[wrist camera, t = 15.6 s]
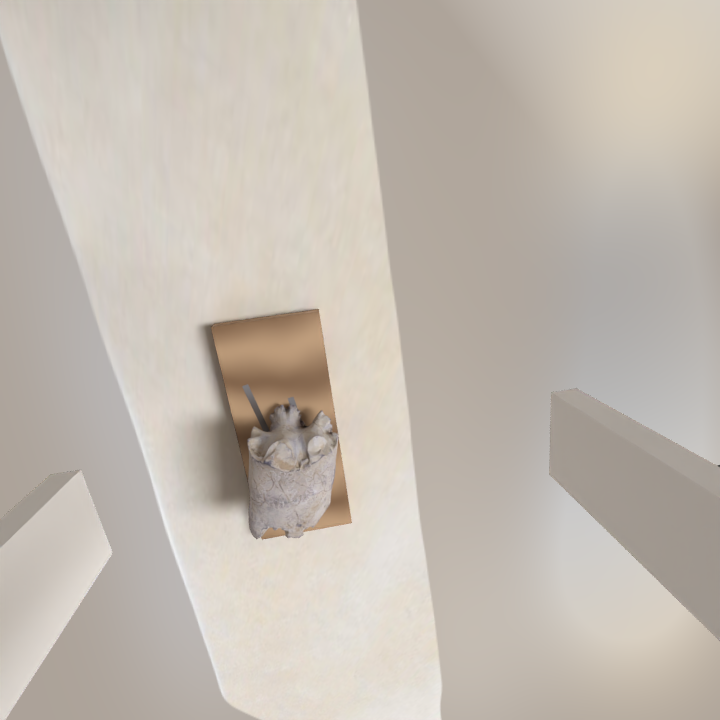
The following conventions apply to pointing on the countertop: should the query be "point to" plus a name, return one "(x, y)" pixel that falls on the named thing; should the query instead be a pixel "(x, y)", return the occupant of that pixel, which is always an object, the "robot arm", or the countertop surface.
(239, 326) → the board
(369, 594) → the countertop surface
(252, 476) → the stone
